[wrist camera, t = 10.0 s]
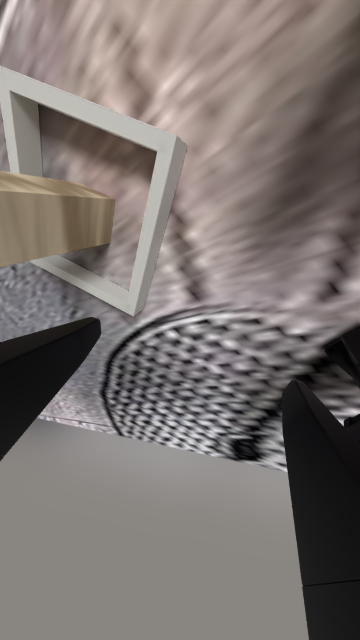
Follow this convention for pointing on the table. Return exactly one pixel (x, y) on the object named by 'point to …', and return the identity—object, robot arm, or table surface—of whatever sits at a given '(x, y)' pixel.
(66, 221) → the tan square block
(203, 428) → the table surface
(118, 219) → the table surface
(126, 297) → the tray
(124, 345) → the table surface
